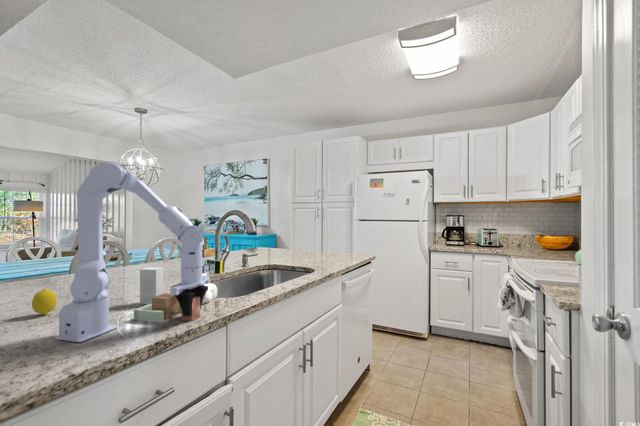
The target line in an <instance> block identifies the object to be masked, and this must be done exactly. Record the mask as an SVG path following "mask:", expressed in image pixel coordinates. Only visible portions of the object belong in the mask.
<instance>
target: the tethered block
mask: <svg viewBox="0 0 640 426" xmlns="http://www.w3.org/2000/svg"><path fill="white" fill-rule="evenodd" d="M152 310H160V311H164V320H169V319H170V318H172V317H174V316H177V315H179V314H180V315H181V320H182V321H187V322H188V321H190V322H192V321H196V320H197V319H199V318H201V310H200V296H194V298H193V302H192V312H191V316H189V317H188V316H183V313H182V311H179V302H178V300H177V298H176V297H175V296H174V295H170V293H166V292H163V294H161V295H158V296H155V297H152Z"/></svg>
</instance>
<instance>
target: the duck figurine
mask: <svg viewBox="0 0 640 426" xmlns="http://www.w3.org/2000/svg"><path fill="white" fill-rule="evenodd" d="M202 277H208V276H207V273H203V272H202ZM204 286H208V290H207V292H206V294H205V296H204V299H203V302H202V305H204V304H207V303H210V302H212V301H213V300H215V299H216V298H217V296H218V287H217V286H216V284H215V283H211V282H210V283H209V284H205V285H204Z"/></svg>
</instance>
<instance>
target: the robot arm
mask: <svg viewBox="0 0 640 426" xmlns="http://www.w3.org/2000/svg"><path fill="white" fill-rule="evenodd" d="M122 189H123V190H124V191H127V192H131V193H133V194H135V195H137V196H138V197H139V198H140V199H141V200H142V201H144V203H146V204H147V205H148V206H150V207H151V208H152V209H153V210H154V211H155V212H157V213H158V222H160V223H161V224H163V225H164V227H166V228H167V229H168V230H169V231H170V232H171V233H172V234H173V235H175V236H179V237H180V241H181V243H182V244H181V251H180V282H179V283H178V284H176V285H174V286H171V287H170V289H169V291H170V293H169V294H170V295H174V296H175V297H176V298H177V300H178V302H179V304H180V306H181V310H182V313H183V316H188V317H189V316H191V312H192V302H193V298H194V296H200V311H201V309H202V305H203V304H202V302H203V299H204V296H205V294H206V292H207V290H208V286H204V285H205V284H209V283H211V277H210V276H207V277H202V273H203V250H202V248H203V244H202V241H203V240H204V235H203V231H202V230H201V229H200V228H199V227H198V226H197V225H195V221H194V220H190V219H189V218H188V217H187V215H186V214H184V213H183V211H184V210H183V209H182V208H181V207H177V206H175V205H167V204H166V203H165V202H164V201H163V200H162V199H161V198H160V197H159V196H158V195H157V194H156V193H155V192H154V191H153V190H152V189H151V188H150V187H149V186H147V184H145V182H144V181H142V180H141V179H139V178H138V177H137V176H135V175H134V174H133V173H132V172H129V171H128V170H127V169H125V168H124V167H122V165H120V164H119V163H117V162H115V161H111V160H110V161H109V160H108V161H103V162H101V163H99V164H97V165H95V166H93V167H92V168H90V171H89V172H88V175H87V176H86V177H85V179H84V180H83V182H82V184H80V186H79V187H78V189H77V191H76V215H77V218H76V219H77V245H78V246H77V251H78V252H77V253H78V262H77V266H76V267H75V271H74V279H73V281H72V282H71V285H70V289H69V291H70V293H71V296H72V297H73V298H72V299H73V300H72V301H71V302H70V303H68V304H66V305H63V306H62V307H61V309H60V310H59V314H58V322H59V323H58V336H56V340H61V341H67V342H68V341H69V342H73V343H74V342H75V343H83V342H85V341H88V340H90V339H94V338H95V337H98V336H100V335H103V334H105V333H107V332H110V331H113V330H115V329H118V325H112V324H109V323H110V316H109V315H110V294H109V292H108V290H107V288H108V287H109V285H110V284H111V276H110V274H109V273H108V271H107V265H106V262H105V259H104V241H103V239H104V237H103V236H104V235H103V232H104V231H103V203H102V202H103V200H104V199H105V198H107V197H108V196H109V195H110V194H112V193H114V192H117V191H120V190H122Z"/></svg>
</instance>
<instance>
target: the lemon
mask: <svg viewBox="0 0 640 426" xmlns="http://www.w3.org/2000/svg"><path fill="white" fill-rule="evenodd" d="M57 303H58V298H57V295H56V293H55V292H54V291H53V290H51V289H47V288H43V289H41V290H40V291H38V292H36V293H35V294H34V296H33V297H32V300H31V307H32V310H33V311H34V312H35V313H36V314H40V315H42V316H47V314H48V313H50V312H51V311H53V310H54V309H55V308H56V306H57Z"/></svg>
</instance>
